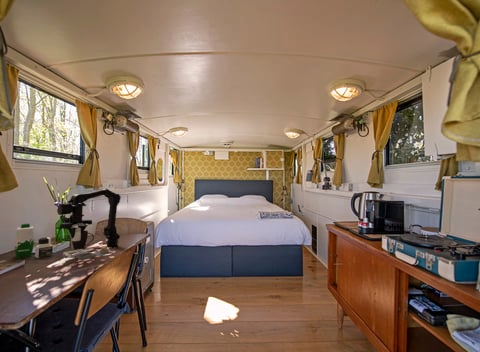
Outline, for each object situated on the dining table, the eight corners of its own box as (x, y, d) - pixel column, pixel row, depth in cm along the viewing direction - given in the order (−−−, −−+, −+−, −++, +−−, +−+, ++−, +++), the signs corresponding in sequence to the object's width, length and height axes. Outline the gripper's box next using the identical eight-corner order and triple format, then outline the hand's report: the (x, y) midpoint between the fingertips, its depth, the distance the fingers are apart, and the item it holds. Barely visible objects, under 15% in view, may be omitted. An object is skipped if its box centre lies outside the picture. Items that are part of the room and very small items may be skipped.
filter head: (105, 251, 163) (105, 247, 163) (112, 254, 158) (112, 249, 158) (75, 258, 148) (75, 253, 149) (82, 261, 143) (82, 256, 143)
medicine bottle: (38, 259, 145) (39, 239, 145) (35, 257, 149) (36, 238, 150) (52, 256, 151) (53, 237, 151) (49, 254, 155) (50, 236, 155)
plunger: (105, 250, 161) (105, 246, 161) (108, 251, 158) (108, 246, 159) (100, 251, 158) (100, 247, 158) (102, 252, 155) (102, 248, 156)
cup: (72, 247, 172) (73, 231, 173) (94, 245, 178) (95, 229, 178) (68, 251, 163) (69, 233, 164) (92, 249, 169) (92, 232, 169)
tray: (80, 252, 160) (80, 249, 160) (87, 255, 155) (87, 251, 155) (63, 256, 152) (63, 252, 152) (69, 259, 146) (69, 255, 146)
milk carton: (33, 253, 157) (34, 223, 158) (33, 256, 151) (34, 224, 151) (14, 255, 152) (16, 224, 152) (14, 259, 145) (15, 226, 146)
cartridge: (82, 239, 155) (82, 227, 156) (75, 241, 151) (76, 228, 151) (76, 239, 157) (77, 226, 157) (69, 240, 152) (70, 227, 152)
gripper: (80, 211, 165) (79, 233, 165) (53, 214, 147) (52, 239, 147) (93, 211, 163) (92, 234, 162) (67, 215, 145) (66, 240, 144)
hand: (76, 237), depth 154 cm, fingers closed on cartridge, 5 cm apart
